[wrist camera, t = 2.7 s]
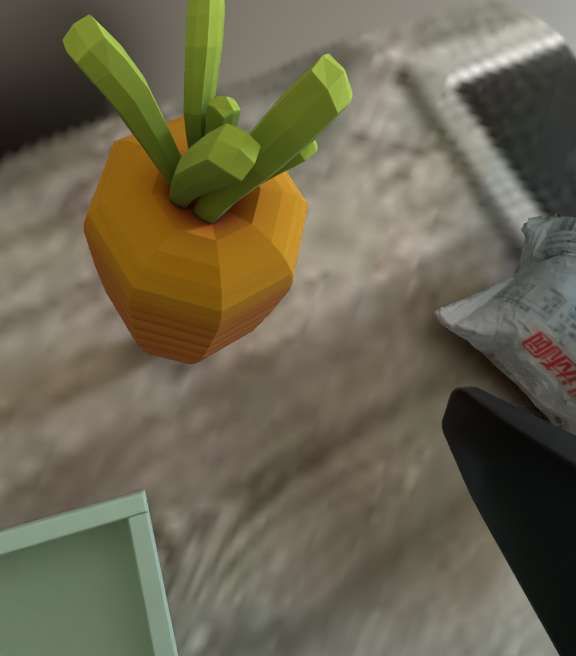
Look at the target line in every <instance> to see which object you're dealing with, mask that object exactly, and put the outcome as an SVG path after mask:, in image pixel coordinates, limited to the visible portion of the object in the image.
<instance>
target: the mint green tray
mask: <svg viewBox="0 0 576 656" xmlns="http://www.w3.org/2000/svg"><path fill="white" fill-rule="evenodd" d="M0 656H178V652H177V647H176V642H175V637H174V632H173V627H172V622H171V617H170V612H169V607H168V602H167V597H166V592H165V587H164V582H163V577H162V572H161V567H160V562H159V557H158V552H157V547H156V542H155V537H154V532H153V528H152V523H151V518H150V513H149V508H148V503H147V498H146V493H145V490H140V491H137V492H133V493H130V494H126V495H122V496H119V497H115V498H112V499H108V500H105V501H101V502H98V503H94V504H91V505H87V506H84V507H80V508H77V509H73V510H69V511H66V512H62V513H59V514H55V515H52V516H48V517H45V518H41V519H38V520H34V521H31V522H27V523H24V524H20V525H17V526H13V527H9V528H6V529H2V530H0Z"/></svg>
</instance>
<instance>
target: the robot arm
mask: <svg viewBox="0 0 576 656" xmlns="http://www.w3.org/2000/svg"><path fill="white" fill-rule="evenodd" d="M442 429H443V433H444V436H445V438H446V440H447V443H448V445H449V447H450V449H451V452H452V454H453V456H454V459H455V461H456V463H457V465H458V468H459V470H460V472H461V475H462V477H463V479H464V482H465V484H466V486H467V488H468V491H469V493H470V495H471V497H472V499H473V501H474V503H475V505H476V507H477V509H478V511H479V512H480V514H481V516H482V518H483V519H484V521H485V523H486V525H487V527H488V528H489V530H490V532H491V534H492V536H493V537H494V539H495V541H496V543H497V545H498V546H499V548H500V550H501V552H502V553H503V555H504V557H505V559H506V561H507V562H508V564H509V566H510V568H511V570H512V571H513V573H514V575H515V577H516V578H517V580H518V582H519V584H520V586H521V587H522V589H523V591H524V593H525V595H526V596H527V598H528V600H529V602H530V604H531V605H532V607H533V609H534V611H535V612H536V614H537V616H538V618H539V620H540V621H541V623H542V625H543V627H544V629H545V630H546V632H547V634H548V636H549V637H550V639H551V641H552V643H553V645H554V646H555V648H556V650H557V652H558V654H559V655H560V656H576V435H574V434H572V433H570V432H568V431H566V430H564V429H562V428H559V427H557V426H555V425H553V424H551V423H549V422H547V421H545V420H543V419H541V418H539V417H537V416H535V415H532V414H530V413H528V412H526V411H524V410H522V409H520V408H518V407H516V406H514V405H512V404H510V403H508V402H506V401H503V400H501V399H499V398H497V397H495V396H493V395H491V394H489V393H487V392H485V391H483V390H481V389H479V388H476V387H458V388H456V389H454V390H453V391H452V392H451V395H450V398H449V401H448V404H447V407H446V410H445V413H444V416H443V420H442Z"/></svg>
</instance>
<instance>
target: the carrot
mask: <svg viewBox="0 0 576 656" xmlns="http://www.w3.org/2000/svg"><path fill="white" fill-rule="evenodd" d="M224 18H225V0H188V8H187V18H186V50H185V75H184V116H182V117H179V118H177V119H174V120H171V121H168V122H165V120H164V118H163V115H162V113H161V111H160V109H159V107H158V105H157V103H156V101H155V99H154V97H153V95H152V93H151V91H150V89H149V87H148V85H147V82H146V80H145V78H144V77H143V75H142V74H141V72H140V71H139V70H138V68H137V67H136V66H135V64H134V63H133V61H132V60H131V59H130V58H129V56H128V55H127V53H126V52H125V51H124V49H123V48H122V46H121V45H120V44H119V43H118V42H117V41H116V40H115V39H114V38H113V37H112V36H111V35H110V34H109V33H108V32H107V31H106V30H105V29H104V28H103V27H102V26H101V25H100V24H99V23H98V22H97V21H96V20H95V19H94V18H92V16H91V15H88V16H86V17H85V18H83V19H81V20H80V21H78V22H76V23H75V24H73V26H72V27H71V29H70V30H69V31H68V33H67V34H66V36H65V37H64V39H63V43H64V46H65V49H66V51H67V52H68V54H69V55H70V56H71V58H72V59H73V60H74V61H75V63H76V64H77V65H78V67H79V68H80V69H81V70H82V72H83V73H84V74H85V75H86V76H87V77H88V79H89V80H90V81H91V82H92V83H93V84H94V85H95V86H96V87H97V88H98V89H99V91H100V92H101V93H102V94H103V95H104V96H105V97H106V98H107V99H108V101H109V102H110V103H111V105H112V106H113V108H114V109H115V110H116V112H117V113H118V115H119V116H120V117H121V119H122V120H123V121H124V123H125V124H126V125H127V127H128V128H129V130H130V131H131V132H132V134H133V135H130V136H127V137H125V138H122V139H119V140H117V141H114V144H113V146H112V149H111V151H110V154H109V157H108V159H107V162H106V165H105V168H104V170H103V173H102V176H101V178H100V181H99V184H98V186H97V189H96V192H95V194H94V197H93V200H92V202H91V205H90V208H89V210H88V213H87V216H86V218H85V221H84V233H85V236H86V239H87V242H88V245H89V249H90V252H91V255H92V258H93V261H94V264H95V267H96V269H97V272H98V274H99V277H100V279H101V282H102V284H103V286H104V289H105V291H106V293H107V295H108V296H109V298H110V300H111V301H112V303H113V305H114V306H115V308H116V310H117V311H118V313H119V315H120V316H121V318H122V320H123V321H124V323H125V325H126V326H127V328H128V330H129V331H130V333H131V334H132V336H133V338H134V339H135V341H136V343H137V344H138V346H139V347H141V348H142V349H143V350H144V351H145V352H147V353H149V354H152V355H156V356H160V357H164V358H168V359H172V360H176V361H180V362H184V363H188V364H195V363H197V362H199V361H201V360H203V359H205V358H206V357H208V356H210V355H212V354H213V353H215V352H217V351H219V350H220V349H222V348H224V347H226V346H227V345H229V344H231V343H232V342H234V341H236V340H238V339H239V338H241V337H243V336H245V335H246V334H248V333H250V332H252V331H253V330H254V329H255V328H256V327H257V326H258V325H259V324H260V323H261V322H262V321H263V320H264V319H265V318H266V317H267V316H268V315H269V314H270V313H271V311H272V310H273V309H274V308H275V307H276V305H277V304H278V303H279V302H280V301H281V299H282V298H283V297H284V296H285V295H286V293H287V292H288V291H289V289H290V287H291V285H292V282H293V277H294V272H295V267H296V263H297V258H298V253H299V248H300V243H301V238H302V233H303V229H304V224H305V219H306V214H307V202H306V200H305V199H304V197H303V196H302V194H301V193H300V191H299V190H298V188H297V187H296V185H295V184H294V182H293V181H292V179H291V178H290V176H289V175H288V173H287V172H286V171H287V170H289V169H291V168H293V167H294V166H296V165H298V164H300V163H302V162H304V161H306V160H307V159H308V158H309V157H311V156H312V155H313V154H315V153H316V152H317V146H318V145H317V143H316V141H315V139H316V138H317V137H318V136H319V135H320V134H321V133H322V132H323V131H324V130H325V129H326V128H327V127H328V125H329V124H330V123H331V122H332V121H333V120H334V119H335V118H336V117H337V116H338V115H339V114H340V113H341V112H342V111H343V110H344V109H345V108H346V107H347V105H348V104H349V103H350V102H351V99H352V96H353V93H352V90H351V87H350V84H349V81H348V78H347V74H346V71H345V69H344V68H343V67H342V66H341V65H340V64H339V63H338V62H337V61H336V60H335V59H334V58H333V57H332V56H331V55H330V54H329V53H328V54H325V55H323V56H322V57H321V58H319V59H318V60H317V61H316V62H315V63H314V64H313V65H312V66H311V67H310V68H309V69H308V70H307V71H306V72H305V73H304V74H303V75H302V76H301V77H300V78H299V79H298V80H297V81H296V82H295V83H294V84H293V85H292V86H291V87H290V88H289V89H288V90H287V91H286V92H285V93H284V94H283V95H282V96H281V97H280V98H279V100H278V101H277V102H276V103H275V104H274V105H273V107H272V108H271V109H270V110H269V111H268V112H267V114H266V115H265V116H264V117H263V118H262V119H261V121H260V122H259V123H258V124H257V125H256V127H255V128H254V129H253V130H252V131H251V132H250V134H249V133H248V132H246V131H244V130H242V129H239V128H237V125H238V120H239V116H240V111H241V109H240V108H239V106H238V105H237V103H236V102H235V100H234V99H232V98H229V97H226V96H215V94H216V87H217V80H218V73H219V66H220V59H221V52H222V44H223V31H224Z"/></svg>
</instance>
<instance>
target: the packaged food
mask: <svg viewBox="0 0 576 656" xmlns="http://www.w3.org/2000/svg"><path fill="white" fill-rule="evenodd" d="M521 230H522V232H523V233H524V236H525V241H524V247H523V249H522V251H521V253H522V254H521V257H520V261H519V264H518V267H517V270H516V272H515V274H514V275H513V276H512V277H510V278H508V279H506V280H504V281H501V282H499V283H496V284H494V285H492V286H491V287H488V288H487V289H485V290H483V291H481V292H478V293H476V294H474V295H472V296H469V297H466V298H464V299H463V300H459V301H456V302H454V303H450V304H448V305H447V307H440V308H439V309H438V310H435V312H434V313H435V316H436V317H437V319H438V320H439V321H440V323H441V324H442V325H443V326H444V327H447V328H448V329H449V330H450V331H452V332H454V333H455V334H456V335H458V336H460V337H462V338H464V339H465V340H467V341H468V342H470V344H471V345H472V346H473V347H474V348H476V349H477V350H479V351H480V352H482V353H483V354H484V355H485V356H486V357H487V358H488V359H489V360H490V361H491V362H492V363H493V364H494V365H495V366H496V367H497V368H498V369H499V370H501V371H502V372H503V373H504V374H505V375H506V376H507V377H509V378H510V379H511V380H512V381H513V382H514V383H516V384H517V385H518V386H519V387H520V388H521V389H522V391H523V392H524V393H525V394H526V395H527V396H528V397H529V398H530V400H531V401H532V402H533V403H534V405H535V406H536V407H537V408H538V409H539V410H540V411H541V412H542V413H543V414H544V416H545V417H546V418H547V419H548V420H549V421H550V422H551V424H553V425H555V426H557V427H559V428H562V429H564V430H566V431H568V432H570V433H572V434H574V435H576V218H574V217H567V216H564V215H562V216H559V215H558V214H555V215H554V216H553V217H549V218H543V217H542V216H538V217H533V218H529V219H528V222H527V223H524V226H523V227H522V229H521Z"/></svg>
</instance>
